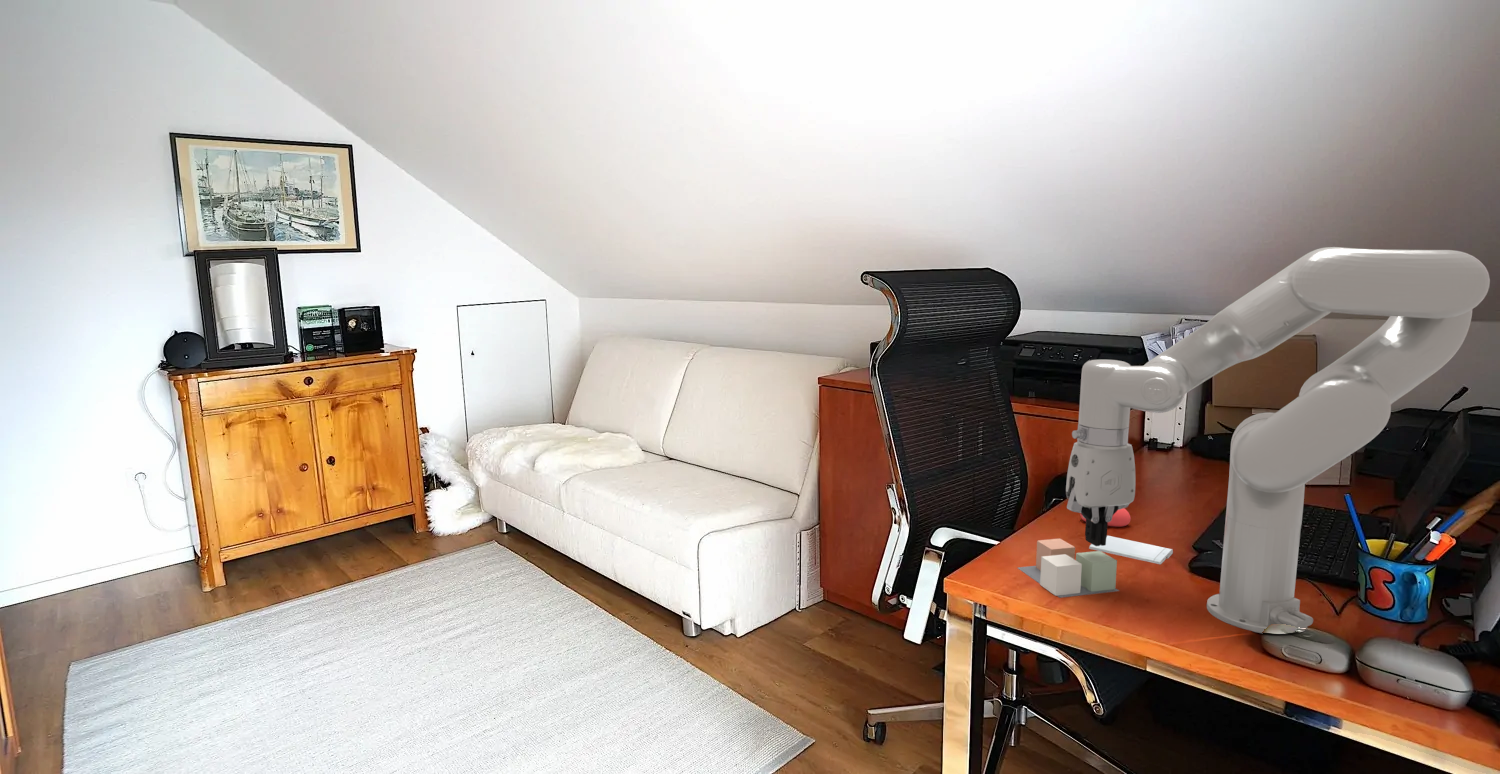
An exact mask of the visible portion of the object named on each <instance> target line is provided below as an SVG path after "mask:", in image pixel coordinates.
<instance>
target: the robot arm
mask: <svg viewBox="0 0 1500 774" xmlns="http://www.w3.org/2000/svg"><path fill="white" fill-rule="evenodd" d="M1490 283H1491V279H1490V273H1489V271H1488V269H1487V267H1486V266H1485V265H1484V263H1482V262H1481V261H1480V260H1479V259H1478V258H1476V257H1475V256H1474V255H1471V254H1469V253H1467V252H1464V251H1460V250H1452V249H1382V248H1381V249H1379V248H1378V249H1377V248H1372V249H1371V248H1354V247H1343V246H1342V247H1338V246H1332V247H1331V246H1329V247H1320V248H1317V249H1314V250H1311V251H1309V252H1308V253H1306V254H1304V255H1303V256H1301V257H1299V258H1298V259H1297V260H1295V261H1293V262H1291V264H1289V265H1288V266H1286V267H1285V268H1283V269H1281V270H1280V271H1279V272H1277V273H1276V274H1274V275H1273V276H1271V277H1270V278H1268V279H1267V280H1265V281H1264V282H1262V283H1261V284H1259V285H1258V286H1256V287H1255V288H1253V289H1252V290H1250V291H1249V292H1248V293H1246V294H1244V295H1243V296H1241V297H1240V298H1238V299H1237V300H1235V301H1234V302H1232V303H1231V304H1229V305H1227V306H1226V307H1224V309H1222V310H1220V311H1219V312H1217V313H1216V314H1214V315H1213V317H1211V318H1210V319H1209V320H1208V321H1207V322H1205V323H1204V324H1202V325H1201V326H1200V327H1198V328H1197V329H1195V330H1194V331H1193V332H1191V333H1189V334H1187V335H1186V336H1185V337H1183V338H1181V339H1180V340H1179V341H1177V342H1176V343H1174V344H1173V345H1172V346H1170V347H1168V348H1167V349H1165V350H1164V351H1162V352H1161V353H1159V354H1158V355H1156V356H1154V357H1153V358H1152V359H1151V360H1150V359H1149V361H1147V362H1146V363H1145V364H1144V365H1131V364H1130V363H1128V362H1126V361H1122V360H1118V359H1090V360H1087V361H1086V362H1085V363H1084V364H1083V365H1082V368H1081V376H1080V377H1081V379H1080V390H1079V391H1080V392H1079V393H1080V394H1079V410H1078V424H1077V429H1076V430H1072V432H1071V436H1072V438H1073V439H1076V440H1077V441H1076V442H1073V446H1072V450H1071V453H1070V457H1069V461H1068V468H1067V474H1066V485H1065V495H1066V498H1067V499H1068V500H1067V505H1066V509H1067V510H1069V511H1071V512H1073V513H1079V514H1080V513H1081V514H1082V515H1083V517H1084V518H1085V519H1086V522H1085V530H1084V538H1085V541H1086V542H1087V543H1089V544H1090V545H1091V544H1093V545H1095V546H1100V545H1101V546H1104V545H1106V537H1107V536H1108V527H1109V526H1108V522H1110V521H1111V520H1112V516H1113V515H1114V514H1115V513H1116V512H1117V510H1120V509H1123V508H1124V509H1126V508H1128V507H1129V505H1130V504H1131V503H1133V502H1134V500H1135V496H1136V464H1135V455H1134V450H1133V446H1132V445H1133V444H1131V443H1129V429H1130V416H1131V409H1134V410H1137V411H1143V412H1146V413H1154V414H1164V413H1167V412H1171V411H1172V410H1174V409H1176V408H1177V407H1178V406H1179V405H1181V403H1182V402H1183V400H1184V397H1185V395H1186V394H1187V393H1189V392H1190V391H1192V390H1193V389H1195V388H1197V387H1198V386H1200V385H1202V384H1203V383H1204V382H1206V381H1208V380H1210V379H1211V378H1213V377H1214V376H1216V375H1218V374H1219V373H1221V372H1223V371H1224V370H1226V369H1228V368H1230V367H1233V366H1234V365H1237V364H1239V363H1242V362H1246V361H1250V360H1253V359H1256V358H1258V357H1261V356H1262V355H1265V354H1266V353H1269V352H1270V351H1272V350H1273V349H1275V348H1276V347H1278V346H1279V345H1281V344H1283V343H1284V342H1286V341H1287V340H1289V339H1291V338H1292V337H1294V336H1295V335H1297V334H1298V333H1300V332H1302V331H1303V330H1305V329H1307V328H1308V327H1310V326H1311V325H1314V324H1315V323H1316V322H1318V321H1319V320H1322V318H1325V317H1326V316H1328V315H1329V314H1331V313H1337V314H1346V315H1347V314H1348V315H1361V316H1377V317H1378V316H1379V317H1380V316H1381V317H1388V318H1387V320H1386V321H1385V322H1384V323H1383V324H1382V325H1381V326H1380V327H1379V328H1378V329H1377V330H1376V331H1374V332H1373V333H1372V334H1371V335H1369V336H1368V337H1366V338H1365V339H1364V340H1363V341H1361V342H1360V343H1359V344H1357V345H1356V346H1354V347H1353V348H1351V349H1350V350H1349V351H1347V353H1345V354H1343V355H1342V356H1340V357H1339V358H1337V359H1336V360H1335V361H1333V362H1332V363H1330V364H1329V365H1326V366H1325V367H1324V368H1323V369H1321V370H1319V371H1317V372H1316V373H1314V374H1312V375H1311V376H1310V377H1308V379H1306V380H1305V381H1304V383H1303V385H1302V386H1301V388H1300V390H1299V393H1298V396H1297V397H1296V398H1295V399H1293V400H1292V401H1291V402H1289V403H1287V404H1286V405H1285V406H1283V407H1282V408H1280V409H1279V410H1277V411H1276V412H1260V413H1257V414H1253V415H1251V416H1249V417H1247V418H1245V419H1244V420H1242V421H1241V422H1240V423H1239V425H1237V427H1236V428H1235V430H1234V432H1233V434H1232V437H1231V441H1230V451H1229V452H1230V453H1229V454H1230V455H1229V470H1228V471H1229V474H1228V475H1229V477H1228V488H1227V498H1226V511H1225V519H1224V520H1225V524H1224V533H1223V534H1224V535H1223V545H1222V547H1223V548H1222V559H1221V570H1220V571H1221V572H1220V583H1219V593H1216V594H1213V595H1212V596H1210V597H1208V599H1207V600H1206V601H1207V602H1206V609H1207V611H1208V613H1210V615H1212V616H1213V617H1215V618H1216V619H1218V620H1219V621H1222V622H1224V623H1226V624H1228V625H1230V626H1233V627H1236V628H1240V629H1243V630H1247V631H1252V632H1251V633H1259V634H1263V633H1262V632H1263V631H1264V629H1266V628H1267V627H1268V626H1269V625H1271V624H1286V625H1291V626H1295V627H1297V628H1298V627H1300V628H1307V629H1308V627H1309V626H1311V625H1312V624H1313V623H1314V618H1313V617H1312V616H1310V615H1308V614H1306V613H1303V612H1301V611H1300V605H1301V599H1298V598H1296V597H1295V589H1296V581H1297V580H1296V579H1297V570H1298V569H1297V568H1298V561H1299V560H1298V559H1299V552H1300V551H1299V550H1300V549H1299V547H1300V539H1301V531H1302V530H1301V529H1302V523H1303V522H1302V521H1303V513H1304V501H1305V500H1304V499H1305V487H1306V483H1308V482H1309V481H1311V480H1313V479H1314V478H1316V477H1318V476H1319V475H1321V474H1322V473H1324V472H1326V471H1327V470H1328V469H1330V468H1332V467H1333V466H1335V465H1337V464H1338V463H1339V462H1341V461H1343V460H1345V459H1346V458H1347V457H1349V456H1350V455H1352V454H1354V453H1355V452H1356V451H1358V450H1360V449H1361V448H1363V447H1365V446H1366V445H1367V444H1368V443H1370V442H1372V440H1374V439H1375V438H1376V437H1377V436H1378V435H1379V434H1380V433H1381V432H1382V431H1383V430H1384V428H1385V427H1386V426H1387V424H1388V422H1389V419H1390V418H1391V412H1392V405H1393V403H1395V402H1397V401H1398V400H1399V399H1400V398H1402V397H1403V396H1405V395H1406V394H1408V393H1409V392H1411V391H1412V390H1413V389H1415V388H1416V387H1417V386H1419V385H1421V383H1423V382H1424V381H1426V380H1427V379H1428V378H1430V377H1431V376H1433V375H1434V374H1436V373H1437V372H1438V371H1439V370H1441V369H1442V368H1443V367H1444V366H1446V364H1447V363H1448V362H1450V360H1451V359H1452V358H1453V357H1454V356H1455V355H1456V353H1458V351H1459V349H1461V347H1462V345H1463V343H1464V341H1465V339H1466V337H1467V335H1468V332H1469V329H1470V326H1471V322H1472V316H1473V309H1474V308H1476V307H1478V306H1479V305H1480V304H1481V303H1482V301H1484V299H1485V298H1486V296H1487V294H1488V292H1489V289H1490Z"/></svg>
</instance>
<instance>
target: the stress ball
mask: <svg viewBox="0 0 1500 774" xmlns="http://www.w3.org/2000/svg"><path fill="white" fill-rule="evenodd" d="M1079 515H1080V518H1081V519H1082V521H1084V522H1085V523H1086V519H1085V518H1084V517H1083V515H1082V514H1081V513H1079ZM1131 520H1132V518H1131V515H1130V512H1129V511H1128V510H1127V509H1126V508H1123V509H1120V510H1117V512H1116V513H1115V514H1114V515H1113V516H1112V520H1111V521H1110V522H1108V527H1114V528H1117V527H1118V528H1119V527H1120V528H1121V527H1125V526H1127V525H1128V524H1130V522H1131Z"/></svg>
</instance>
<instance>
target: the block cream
mask: <svg viewBox="0 0 1500 774" xmlns="http://www.w3.org/2000/svg"><path fill="white" fill-rule="evenodd" d="M1081 570H1082V564H1081V563H1079V562H1078V561H1076V559H1075V560H1074V559H1073V558H1071V557H1069V556H1068V555H1066V554H1063V555H1053V556H1043V557H1041V577H1040V584H1039V585H1040V586H1041V587H1043V588H1044V589H1046V591H1048V592H1049V593H1051V594H1053V595H1054V596H1055V597H1056V596H1057V597H1058V595H1067V594H1076V593H1080V588H1081Z"/></svg>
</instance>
